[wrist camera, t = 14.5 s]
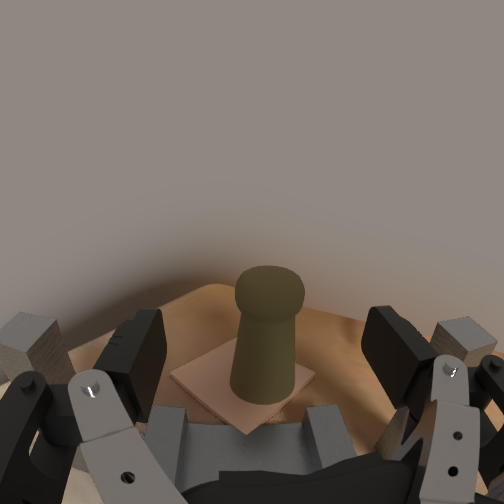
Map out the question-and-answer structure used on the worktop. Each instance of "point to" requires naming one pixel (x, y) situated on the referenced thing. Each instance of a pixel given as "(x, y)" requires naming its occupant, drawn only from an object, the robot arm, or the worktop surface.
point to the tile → (229, 388)
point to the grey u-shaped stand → (227, 436)
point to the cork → (266, 334)
